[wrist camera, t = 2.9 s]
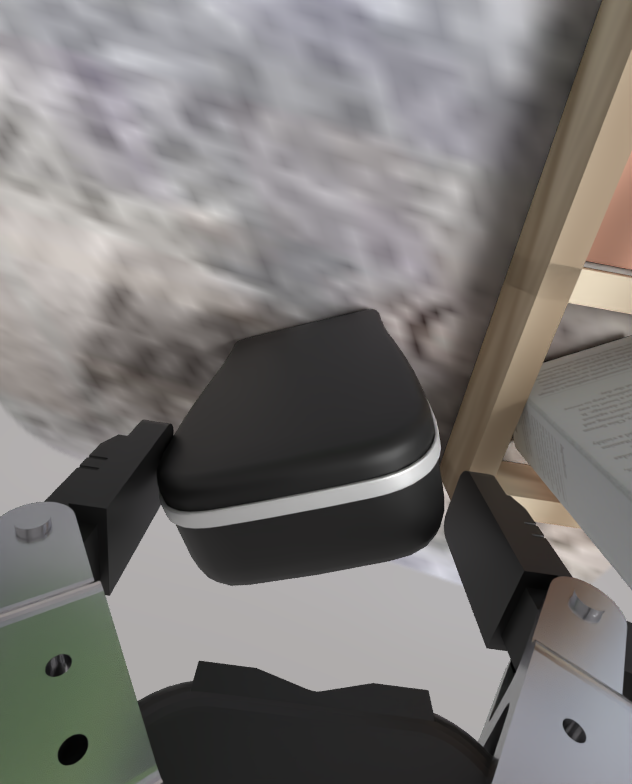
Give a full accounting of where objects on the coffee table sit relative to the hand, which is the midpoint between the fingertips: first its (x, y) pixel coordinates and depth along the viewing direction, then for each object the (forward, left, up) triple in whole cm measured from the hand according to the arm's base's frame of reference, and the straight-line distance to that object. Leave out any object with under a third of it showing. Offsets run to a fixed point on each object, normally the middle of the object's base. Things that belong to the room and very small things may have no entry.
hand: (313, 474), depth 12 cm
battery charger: (0, 0, -9) cm, 9 cm away
